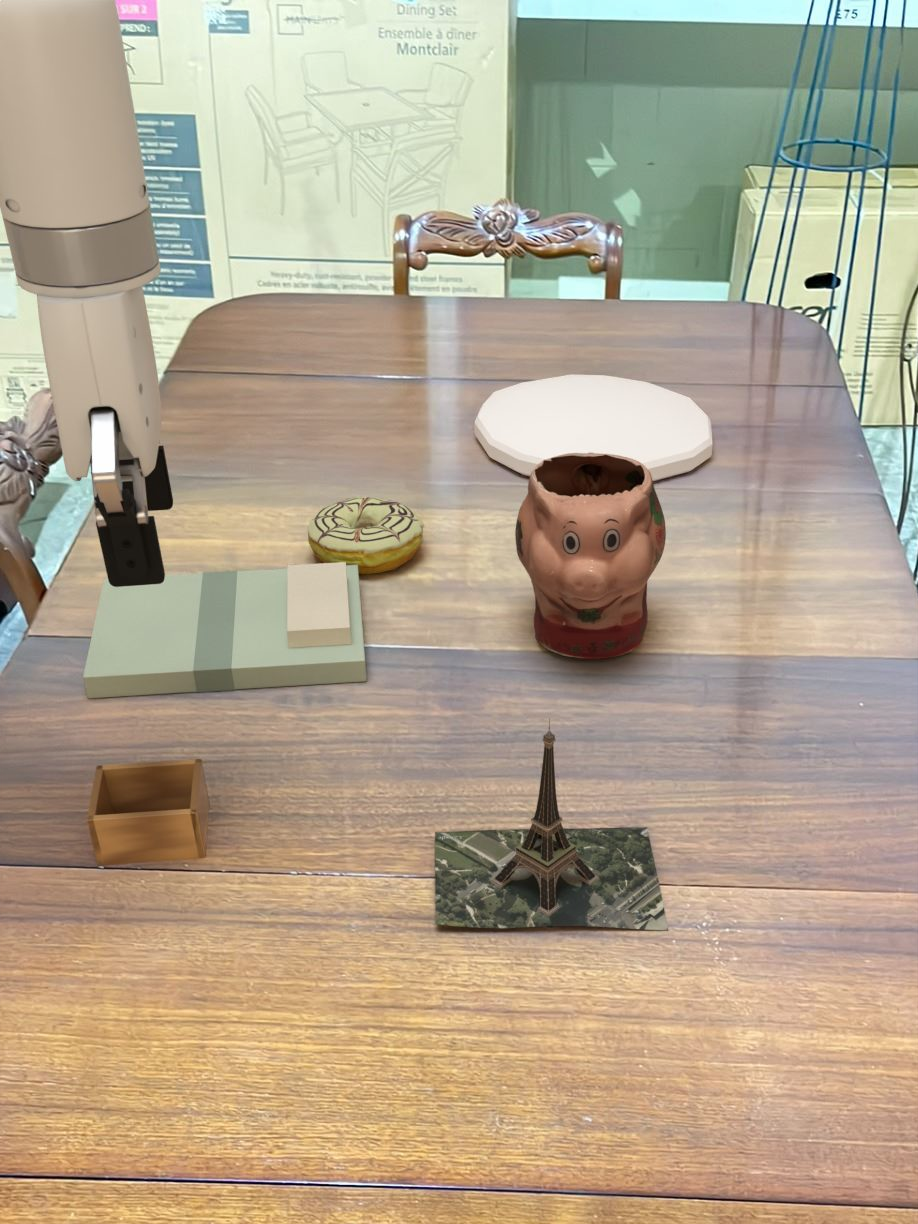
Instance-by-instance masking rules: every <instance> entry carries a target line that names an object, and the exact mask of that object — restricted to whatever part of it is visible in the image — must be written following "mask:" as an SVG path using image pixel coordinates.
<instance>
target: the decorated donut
mask: <svg viewBox="0 0 918 1224" xmlns="http://www.w3.org/2000/svg"><path fill="white" fill-rule="evenodd" d="M308 524H309V525H308V526H307V541H308V544H309V547H310V548H311V550H312V552H313V555H315V556H316V557H317V559H318V560H319V561H320V562H322V563H339V562H346V565H358V574H359V575H371V574H380V573H384V572H385V573H386V572H387V571H395V570H396V569H398V568H399V567H401V566H402V565H404V564H405V563H406V562H408V561H410V560H411V559H412V558H413V557H414V556H415V554H416V552H417V551H418V549H419V547H420V545H421V544H422V541H423V537H424V534H423V533H424V529H423V528H424V527H425V524H424V522H423V520H421V518H420V517H419V515H418V514H417V513H416V512H414V511H413V510H412V509H411V508H409V507H407V506H406V505H405V504H402V503H401V502H398V501H393V500H389V499H385V498H381V497H368V496H355V497H354V496H353V497H348V498H346V499H343V500H340V501H337V502H335V503H333V504H331V505H329V506H326V507H323V508H322V509H320V510H319V511H318V512H316V513H315V515H313V517H312V518H311V519H310V520H309V523H308Z"/></svg>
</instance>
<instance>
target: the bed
mask: <svg viewBox="0 0 918 1224" xmlns="http://www.w3.org/2000/svg"><path fill="white" fill-rule="evenodd" d="M286 567H287V568H271V569H252V570H221V571H203V572H197V573H196V572H195V573H182V574H181V573H180V574H179V573H178V574H177V573H176V574H165V579H164V581H163V583H161V584H151V585H137V586H123V587H114V586H112V585H111V584H110V583H109V581H108V577H105V578H103V580H102V585H101V589H100V593H99V594H100V595H99V599H98V603H97V609H96V613H95V618H94V623H93V628H92V633H91V637H90V641H89V646H88V651H87V656H86V660H85V666H84V669H83V674H82V681H83V685H84V689H85V691H86V692H85V693H86V696H87V699H99V698H100V699H101V698H116V697H133V696H134V697H135V696H147V695H150V696H151V695H165V694H181V693H211V692H213V693H214V692H215V693H216V692H225V691H226V692H229V691H235V690H246V689H247V690H248V689H263V688H264V689H265V688H279V687H295V686H313V685H329V684H344V683H345V684H346V683H362V682H367V681H368V680H367V666H366V665H367V664H366V653H365V642H364V627H363V616H362V615H363V614H362V601H361V590H360V589H361V588H360V577H359V576H360V574H358V565H346V562H339V563H323V562H322V563H304V564H287V566H286Z"/></svg>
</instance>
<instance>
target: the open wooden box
mask: <svg viewBox="0 0 918 1224" xmlns="http://www.w3.org/2000/svg"><path fill="white" fill-rule="evenodd" d="M202 759H203V758H193V759H178V760H163V761H161V760H159V761H148V762H135V763H134V762H132V763H117V764H116V763H115V764H101V765H100V764H99V765H96V766H95V771H94V777H93V783H92V788H91V793H90V799H89V805H88V810H87V816H86V824H87V828H88V831H89V835H90V838H91V843H92V847H93V851H94V855H95V859H96V862H97V866H111V865H126V864H128V865H129V864H138V863H155V862H168V861H181V860H182V861H183V860H195V859H206V858H207V857H206V856H207V845H208V831H209V830H208V829H209V819H210V818H209V816H210V798H209V793H208V786H207V782H206V775H205V770H204V765H203V760H202Z"/></svg>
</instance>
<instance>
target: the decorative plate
mask: <svg viewBox="0 0 918 1224" xmlns="http://www.w3.org/2000/svg"><path fill="white" fill-rule="evenodd" d="M712 432H713V431H712V421H711V419H710V417H709V416H708V415H707V414H706V413H705V412H704V411H703V410H702V409H701V408H700V407H699V406H698V405H697V403H696V402H695V401H693V400H692V398H690V397H689V396H686V395H683V394H680V393H678V392H675V391H673V390H670V389H667V388H665V387H662V386H659V385H657V384H653V383H651V382H648V381H643V380H636V379H632V378H631V379H629V378H624V377H619V376H611V375H606V374H605V375H602V374H597V375H596V374H573V373H571V374H566V375H559V376H554V377H547V378H541V379H536V380H530V381H524V382H519V383H517V384H514V385H510V386H507V387H504V388H501V389H498V390H495V391H493V392H492V393H491V395H490V396H489V397H488V398H487V399H486V400H485V401H484V402H483V404H481V407H480V408H479V411H478V413H477V415H476V418H475V420H474V436H475V438H476V439H477V440H478V442H479V443H480V445H481V447H482V448H483V450H484V451H485V452H486V454H487V455H488V457H489V458H490V459H492V460H494V461H495V462H498V463H500V464H501V465H503V466H505V467H507V468H508V469H511V470H513V471H515V472H517V473H519V474H521V475H522V476H525V477H530V475H531V472H532V471H533V469H534V468H535V466H537V465H538V464H539V463H540V462H542V461H543V460H545V459H549V458H552V457H556V456H559V455H563V454H568V453H600V454H612V455H619V456H623V457H627V458H631V459H634V460H636V461H639V462H640V463H642V464H643V465H644V466H645V467H646V468H647V469H648V470H649V472H650V474H651V477H652V480H653V482H656V481H659V480H663V479H667V478H672V477H675V476H679V475H681V474H686V473H689V472H691V471H693V470H694V469H695V468H697V467H698V466H700V465H701V464H703V463H704V462H706V461H707V460H708V459H710V458H711V457H712V453H713V446H714V445H713V433H712Z"/></svg>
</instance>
